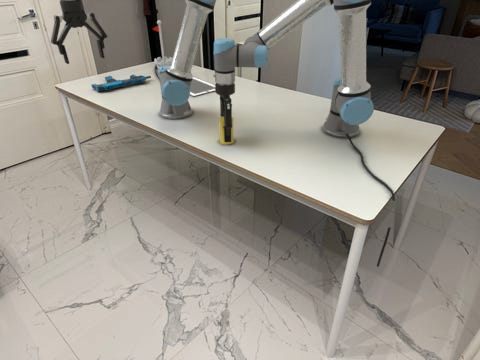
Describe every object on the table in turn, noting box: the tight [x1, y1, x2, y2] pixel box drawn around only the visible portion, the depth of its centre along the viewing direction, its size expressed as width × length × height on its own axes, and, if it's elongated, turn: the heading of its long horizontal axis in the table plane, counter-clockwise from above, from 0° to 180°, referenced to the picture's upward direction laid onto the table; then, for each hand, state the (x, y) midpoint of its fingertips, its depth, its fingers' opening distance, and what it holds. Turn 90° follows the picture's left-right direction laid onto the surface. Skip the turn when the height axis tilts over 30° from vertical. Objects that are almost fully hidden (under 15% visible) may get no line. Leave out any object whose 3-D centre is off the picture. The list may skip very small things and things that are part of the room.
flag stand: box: [152, 19, 173, 69], centre depth 231 cm, size 13×13×30 cm
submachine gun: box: [90, 74, 152, 92], centre depth 206 cm, size 34×4×25 cm
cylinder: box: [218, 116, 235, 145], centre depth 138 cm, size 6×6×10 cm
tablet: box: [190, 76, 215, 97], centre depth 203 cm, size 32×20×1 cm, turn 41°
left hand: (85, 60), depth 133 cm, fingers open, 13 cm apart
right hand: (226, 138), depth 140 cm, fingers closed on cylinder, 6 cm apart
